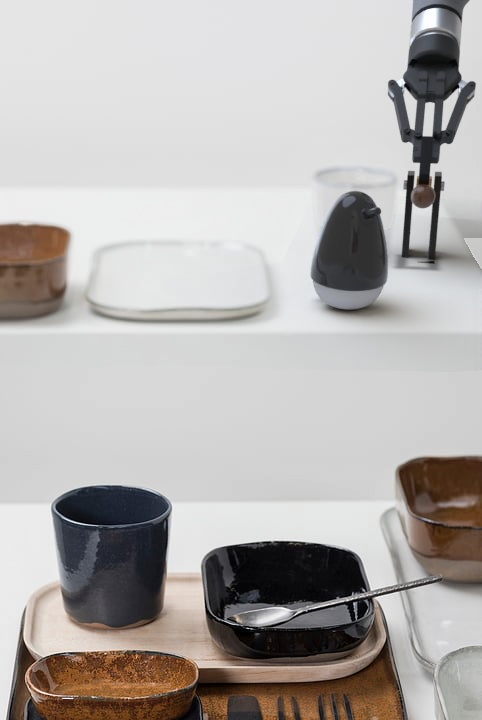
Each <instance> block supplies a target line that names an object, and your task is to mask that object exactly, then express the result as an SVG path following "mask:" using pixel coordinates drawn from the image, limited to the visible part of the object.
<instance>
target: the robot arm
mask: <svg viewBox="0 0 482 720" xmlns="http://www.w3.org/2000/svg"><path fill="white" fill-rule="evenodd" d="M470 1H471V0H412V12H411V24H410V33H409V43H408V47H409V49H408V56H407V67H406V70H405V72H404V73H403V75H402V78H400V79H398V80H397V81H396V80H395V79H390V80H388V82H387V96H388V97H389V99H390V100H391V101H392V103H393V106H394V111H395V116H396V121H397V125H398V129H399V130H398V131H399V136H400V139H401V142H402V143H404V144H406V143H410V144H412V154H411V155H412V156H411V161H412V163H413V164H419V171H418V176H419V182H418V185H420V184H427V185H429V178H430V176H431V164H434V165H435V164H436V165H437V164H439V162H440V157H441V156H440V155H441V146H442V145H444V144H446V145H452V143H453V142H454V140H455V136H456V135H457V133H458V129H459V126H460V124H461V121H462V118H463V116H464V113H465V110H466V108H467V105H468V104H469V103H470V102H471V101H472V100H473V99H474V98H475V95H476V86H477V83H476V82H475V81H473V80H470V81H468V82H467V81H465V80H463V79H462V78H463V77H462V74H461V72H460V70H459V69H460V55H461V42H462V29H463V27H462V26H463V15H464V14H463V13H464V9H465V7H466V5H467V4H468V3H469V2H470ZM405 89H406V91H407V92H408V93H409V95H411V96H412V98H413V99H414V100H415V101H416V110H415V119H414V120H415V121H414V129H413V128H411V124H410V120H409V116H408V115H409V114H408V110H407V106H406V101H405V97H404V95H405ZM456 91H457V99H456V101H455V105H454V107H453V109H452V112H451V114H450V117H449V120H448V123H447V125H446V128H445V129H442V128H443V127H442V126H443V117H444V116H443V114H444V102H445V101H446V100H448V99H449V98H450V97H451V96H452V95H453V94H454V93H455V92H456ZM428 103H432V104H434V107H433V122H432V134H431V135H432V136H429V135H427V136H426V135H425V136H424V126H425V125H424V124H425V112H426V104H428Z"/></svg>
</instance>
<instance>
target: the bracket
mask: <svg viewBox="0 0 482 720" xmlns="http://www.w3.org/2000/svg"><path fill="white" fill-rule="evenodd" d="M415 176H416V171H415V170H408V171H407V178H406V179H404V180H403V188H402V189H403V190H405V191H406V192H405V204H404V218H403V219H404V220H403V233H402V245H401V246H402V247H401V258H406V259H408V258H409V253H410V243H411V242H410V241H411V229H412V215H413V214H412V213H413V203H412V200H411V193H412V191H413V189H414V188H415ZM442 179H443V172H442V171H434V179H433V189H434V191H435V200H434V202H433V204H432V205H431V217H430V230H429V239H428V254H427V260H424V261H422V260H421V261H418V263H420V264H433V265H435V264H436V263H435V262H436V261H435V260H436V249H437V241H438V240H437V239H438V227H439V214H440V205H441V203H440V202H441V192H444V191H445V183H446V181H444V180H442Z"/></svg>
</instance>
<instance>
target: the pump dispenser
mask: <svg viewBox="0 0 482 720" xmlns="http://www.w3.org/2000/svg"><path fill="white" fill-rule="evenodd" d="M381 214H382V208H380V207H379V206H377V204H376V202H375V201H374V199H373V197H371V196H370V195H369V194H367V193H366V192H363V191H360V190H350V191H347V192H345V193H343V194H341V195H340V196H339V197H337V199H336V200H335V202H334V203H333V205H332V206H331V207H330V209H329V211H328V213H327V215H326V217H325V218H324V219H325V220H324V222H323V223H322V226H321V229H320V231H319V234H318V237H317V239H316V240H317V241H316V244H315V247H314V251H313V255H312V260H311V265H310V278H311V280H312V284H313V288H314V291H315V293H316V295H317V296H318V298H319V299H320V300H321V301H322V302H323V303H325V304H327V305H328V306H331V307H333V308H336V309H340V310H349V311H350V310H359V309H362V308H366V307H368V306H369V305H371V304H373V303H374V302H375V301H376V300H377V299H378V298H379V297H380V295H381V293H382V291H383V290H384V286H385V285H386V284H387V282H388V278H389V257H388V248H387V247H388V245H387V239H386V238H387V237H386V234H385V229H384V224H383V220H382V216H381Z"/></svg>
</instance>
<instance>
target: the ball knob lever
mask: <svg viewBox="0 0 482 720" xmlns="http://www.w3.org/2000/svg"><path fill="white" fill-rule="evenodd" d="M418 182H419V175H417V176H416V183H415V185H416V186H414V189H413V191H412V193H411V200H412V205H414V206H415V207H416V208H419V209H427V208H430V207H432V204H433V202H434V200H435V191H434V187H433V186H432V182H433V176H432V175H430V178H429V185H427V184H420V185H418Z"/></svg>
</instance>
